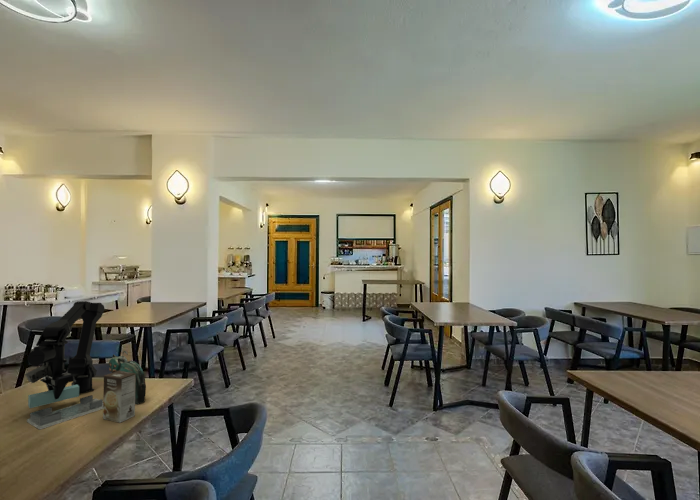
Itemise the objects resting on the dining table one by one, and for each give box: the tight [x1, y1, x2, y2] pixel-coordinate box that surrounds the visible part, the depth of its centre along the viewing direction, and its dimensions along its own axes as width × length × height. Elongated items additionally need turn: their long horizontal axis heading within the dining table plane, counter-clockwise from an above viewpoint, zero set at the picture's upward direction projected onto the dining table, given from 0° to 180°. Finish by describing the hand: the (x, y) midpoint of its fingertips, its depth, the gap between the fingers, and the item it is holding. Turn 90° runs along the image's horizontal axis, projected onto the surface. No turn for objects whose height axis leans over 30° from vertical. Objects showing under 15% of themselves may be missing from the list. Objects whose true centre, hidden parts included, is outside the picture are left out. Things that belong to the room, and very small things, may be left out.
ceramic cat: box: [108, 350, 147, 405], centre depth 149 cm, size 20×6×20 cm, turn 63°
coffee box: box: [102, 371, 136, 424], centre depth 132 cm, size 9×6×16 cm
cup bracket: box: [26, 394, 103, 430], centre depth 134 cm, size 22×11×3 cm, turn 149°
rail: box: [27, 385, 80, 409], centre depth 139 cm, size 15×4×4 cm, turn 140°
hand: (54, 397), depth 139 cm, fingers closed on rail, 4 cm apart
